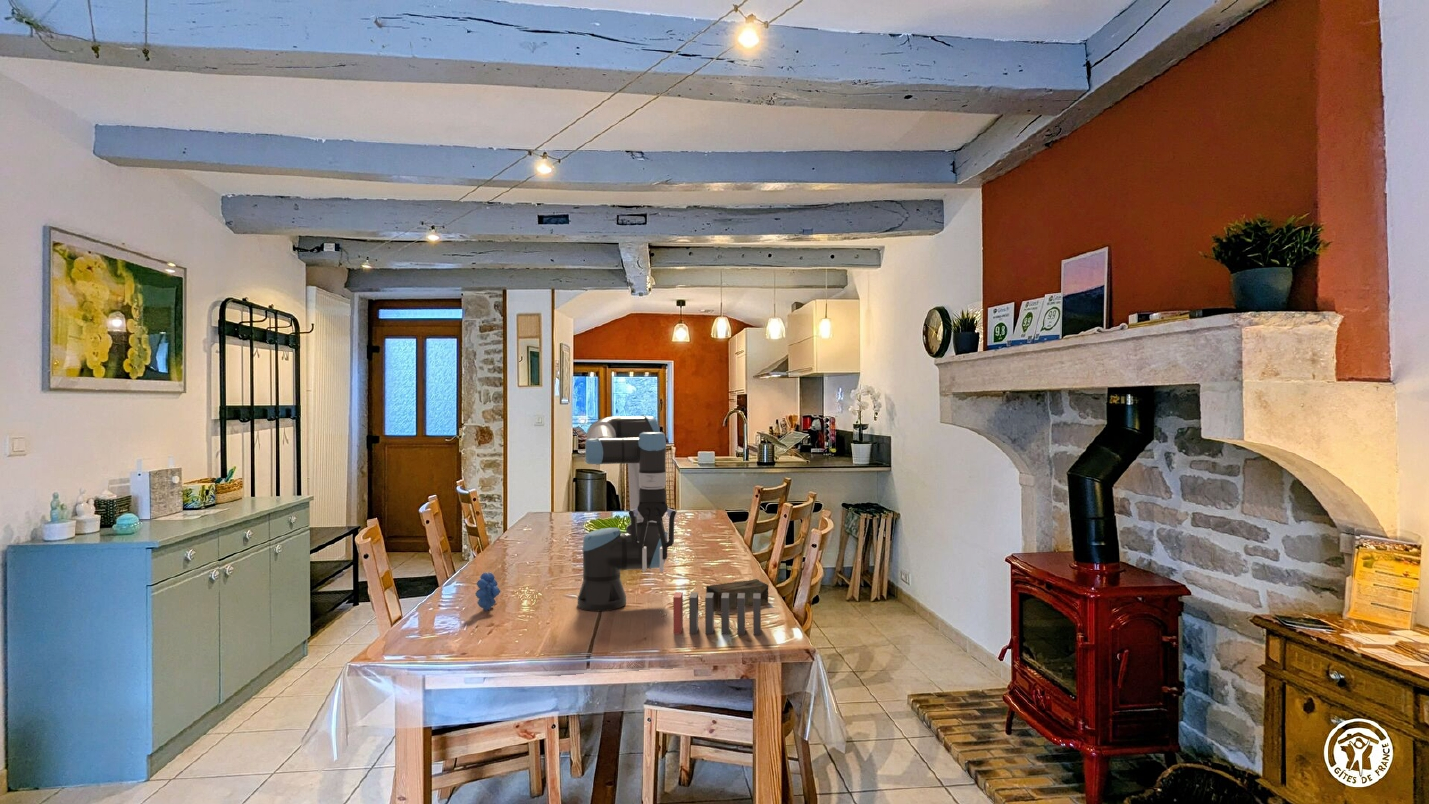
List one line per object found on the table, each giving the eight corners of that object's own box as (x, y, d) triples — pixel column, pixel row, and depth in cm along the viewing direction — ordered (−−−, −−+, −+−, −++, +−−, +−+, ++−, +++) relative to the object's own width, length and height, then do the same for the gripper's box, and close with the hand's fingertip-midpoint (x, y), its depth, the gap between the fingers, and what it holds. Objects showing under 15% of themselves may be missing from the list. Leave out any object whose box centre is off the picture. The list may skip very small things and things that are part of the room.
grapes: (492, 617, 204) (491, 576, 204) (470, 616, 205) (470, 576, 205) (508, 605, 216) (508, 567, 216) (487, 604, 217) (487, 566, 217)
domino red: (673, 633, 189) (673, 597, 189) (675, 627, 194) (675, 592, 194) (680, 633, 189) (680, 597, 189) (682, 627, 194) (682, 592, 194)
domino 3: (721, 634, 188) (721, 598, 188) (722, 628, 193) (722, 592, 193) (728, 634, 188) (728, 598, 188) (729, 628, 193) (729, 592, 193)
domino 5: (753, 634, 188) (753, 598, 188) (753, 628, 193) (753, 593, 193) (760, 635, 187) (760, 598, 187) (760, 628, 192) (760, 593, 192)
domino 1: (689, 633, 189) (689, 597, 189) (691, 627, 194) (691, 592, 194) (696, 633, 189) (696, 597, 189) (698, 627, 194) (698, 592, 194)
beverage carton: (769, 603, 217) (769, 582, 217) (716, 612, 208) (716, 591, 208) (756, 596, 224) (756, 576, 224) (704, 605, 215) (704, 584, 215)
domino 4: (737, 634, 188) (737, 598, 188) (737, 628, 193) (737, 593, 193) (744, 634, 188) (744, 598, 188) (745, 628, 193) (744, 593, 193)
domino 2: (705, 634, 189) (705, 597, 188) (706, 627, 194) (706, 592, 193) (712, 634, 188) (712, 597, 188) (713, 628, 193) (713, 592, 193)
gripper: (619, 489, 189) (620, 573, 189) (681, 489, 187) (682, 574, 188) (624, 485, 196) (625, 567, 196) (684, 485, 195) (685, 567, 195)
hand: (653, 570), depth 192 cm, fingers open, 4 cm apart
